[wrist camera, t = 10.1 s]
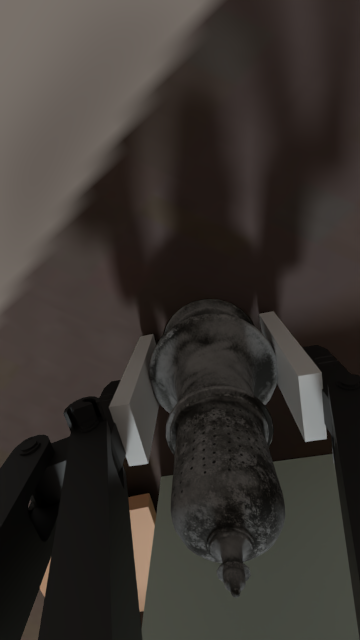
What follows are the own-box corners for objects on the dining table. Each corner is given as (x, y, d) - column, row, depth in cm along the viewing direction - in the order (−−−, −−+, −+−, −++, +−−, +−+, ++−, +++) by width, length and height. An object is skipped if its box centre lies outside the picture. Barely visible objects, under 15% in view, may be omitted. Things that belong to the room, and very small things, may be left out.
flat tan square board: (180, 588, 23) (65, 609, 23) (149, 493, 20) (17, 519, 20) (181, 604, 22) (61, 626, 22) (148, 506, 19) (9, 534, 19)
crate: (191, 573, 24) (189, 774, 15) (161, 476, 21) (137, 661, 12) (379, 556, 22) (494, 770, 14) (378, 447, 19) (526, 638, 10)
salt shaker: (136, 332, 17) (22, 563, 6) (224, 271, 16) (296, 420, 4) (196, 405, 19) (199, 705, 7) (281, 355, 17) (448, 630, 6)
